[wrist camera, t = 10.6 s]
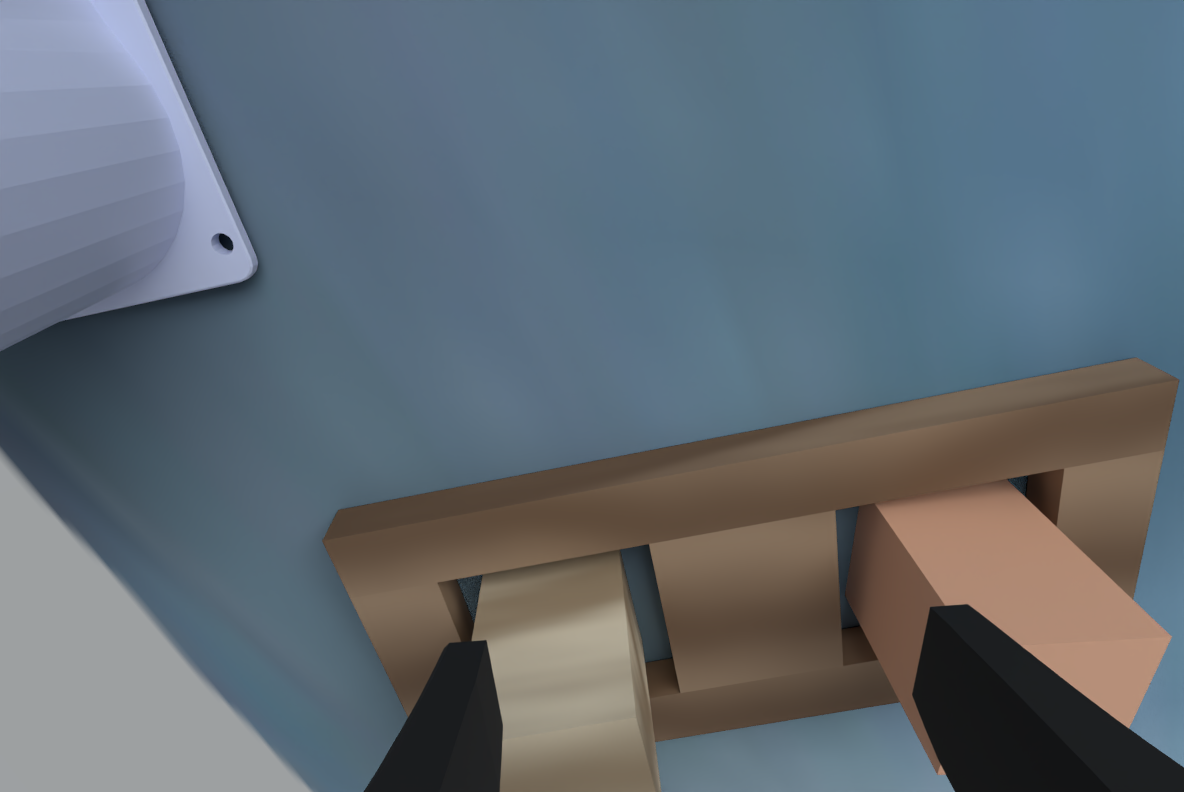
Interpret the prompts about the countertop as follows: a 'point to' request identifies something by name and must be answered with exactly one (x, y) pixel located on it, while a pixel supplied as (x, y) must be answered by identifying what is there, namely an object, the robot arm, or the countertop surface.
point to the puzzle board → (762, 534)
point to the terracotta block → (997, 593)
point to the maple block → (569, 677)
